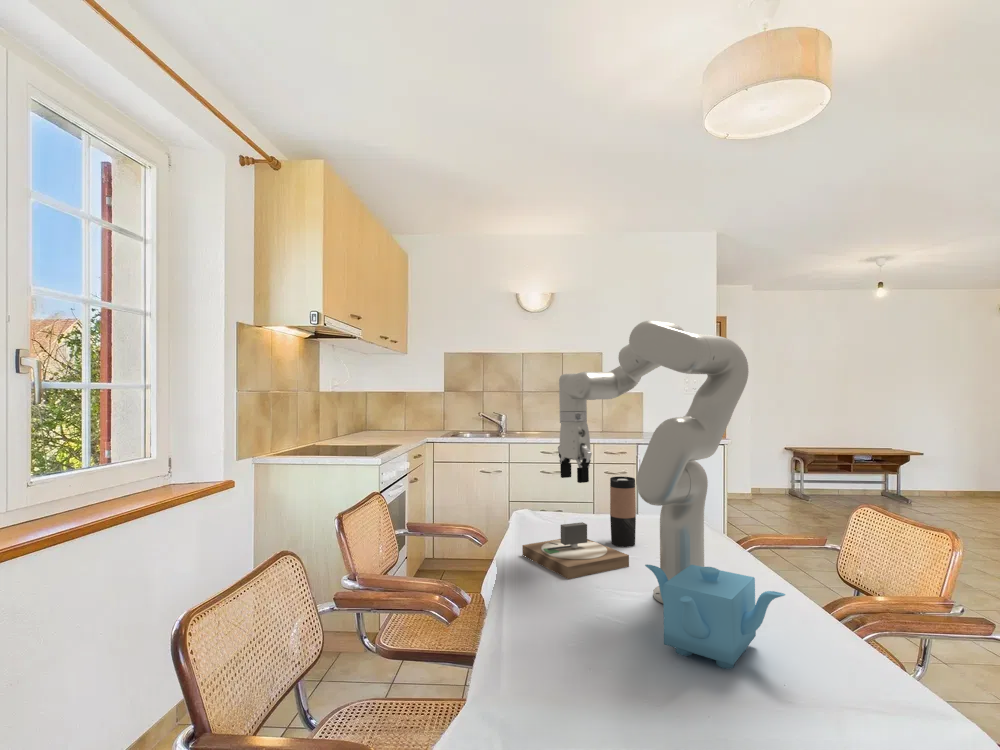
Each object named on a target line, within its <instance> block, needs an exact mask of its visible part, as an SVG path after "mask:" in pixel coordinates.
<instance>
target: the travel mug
mask: <svg viewBox="0 0 1000 750" xmlns="http://www.w3.org/2000/svg"><path fill="white" fill-rule="evenodd" d="M609 481H610V482H609V487H610V488H609V489H610V491H609V493H610V495H609V498H610V500H609V504H610V505H609V509H610V510H609V513H610V514H609V515H610V517H609V519H610V520H609V521H610V542H611V545H613V546H615V547H618V548H619V547H621V548H631V547H635V546H636V524H637V521H636V520H637V519H636V517H637V515H636V514H637V513H636V511H637V510H636V504H637V503H636V502H637V501H636V478H634V477H631V476H612V477H610V479H609Z"/></svg>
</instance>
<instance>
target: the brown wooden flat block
mask: <svg viewBox="0 0 1000 750" xmlns="http://www.w3.org/2000/svg"><path fill="white" fill-rule="evenodd" d="M561 546H569V545H564V544H562V543H561V538H558V539H557V538H556V539H552V540H547V541H540V542H539V541H538V542H534V543H527V544H523V545H522V556H523V555H524V556H526V557H527V558H526V557H525V558H526V559H528V558H529V560H530V559H531V560H530V561H532V560H533V561H532V562H534V563H536V564H538V565H540V566H542V567H543V568H546V569H548V570H549V571H552V572H553V573H555V574H557V575H559V576H561V577H563V578H565V579H566V580H571V579H575V578H581V577H585V576H591V575H595V574H599V573H604V572H608V571H614V570H619V569H623V568H629V567H630V555H629V554H627V553H624V552H622V551H619V550H616V549H614V548H612V547H609V546H606V545H604V544H601V543H599V542H595V541H593V540H591V539H588V538H587V543H579V544H578V547H577V548H571V547H570V548H562V549H554V550H548V548H553V547H561ZM524 556H523V557H524Z"/></svg>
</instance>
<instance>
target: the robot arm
mask: <svg viewBox="0 0 1000 750" xmlns="http://www.w3.org/2000/svg"><path fill="white" fill-rule="evenodd" d="M628 338H629V339H628V344H627V345H625V346H623V347H622V348H621V349H620V351H619V352H618V357H617V358H618V364H619V365H618V366H617V367H615V368H613V369H611V370H610V371H581V372H578V373H563V374H561V375H560V376H559V378H558V387H559V388H558V389H559V390H558V391H559V392H558V394H559V395H558V396H559V397H558V398H559V403H558V404H559V424H560V429H559V446H558V447H557V450H558V458H559V464H560V465H559V466H560V468H559V469H560V478H561V479H562V478H563V479H566V478H572V463H571V460H573V461H576V464H577V466H578V467H577V468H576V473H577V474H576V475H577V476H576V478H577V480H576V481H577V483H578V484H584V483H589V482H590V478H589V477H590V476H589V468H590V466H591V465H590V463H591V458H592V454H593V453H592V451H591V439H590V431H589V425H588V422H587V421H588V411H587V409H588V407H587V403H588V401H595V400H612V399H616V398H617V397H621V396H622V395H625V394H627V392H630V391H631V390H633V389H634V388H635V387H636V386H637V385H638V384H639V382H640V381H641V380H642V377H644V376H645V375H647V374H648V373H650V372H652V371H654V370H656V369H658V368H660V367H661V366H662V367H663V368H666V369H668V370H672V371H676V372H677V373H682V374H686V375H687V374H688V375H707V377H706V379H705V381H704V382H703V383H702V385H700V387H699V388H698V390H697V391H696V392H695V394H694V397H693V398H692V401H691V404H690V406H689V408H688V410H687V412H686V414H685V415H683V416H678V417H677V416H676V417H670V418H668V419H665V420H664V421H663V422H661V423H660V424H659V425H658V426H657V427H656V428H655V430H654V431H653V434H652V435H651V438H650V441H649V443H648V445H647V448H646V450H645V453H644V455H643V458H642V460H641V463H640V465H639V468H638V471H637V475H636V481H635V484H636V490H637V491H638V492H637V493H638V494H639V496H640V498H641V499H642V501H644V502H645V503H647V504H649V505H652V506H657V507H658V506H661V508H660V514H659V551H660V552H659V561H660V563H659V568H661V569H662V570H663V571H664V573H665V574H666V576H667V578H668V580H670V579H671V578H673V577H674V576H675V575H677V574H678V573H680V572H681V571H683V570H684V569H686V568H687V567H689V566H690V565H696V566H701V567H705V506H706V499H707V493H708V486H709V485H708V483H709V481H708V476H707V472H706V470H705V468H704V467H703V466H702V465H701V464H700V463H699V462H698V461H699V460H705V459H708V458H710V457H712V456H713V455H714V454H716V451H717V450H718V448H719V445H720V443H721V441H722V439H723V437H724V434H725V433H726V430H727V428H728V426H729V423H730V421H731V419H732V416H733V413H734V411H735V409H736V406H737V404H738V403H739V400H740V399H741V397H742V395H743V393H744V390H745V388H746V385H747V381H748V379H749V378H748V377H749V373H750V372H749V362H748V359H747V356H746V355H745V352H744V351H743V350H742V348H741V347H740V346H739V345H738V344H737V343H736V342H735V341H733V340H732V339H729V338H726V337H723V336H720V335H714V334H713V335H712V334H700V333H691V332H687V331H685V330H684V328H682V327H681V326H680V325H677V324H676V323H673V322H668V321H667V322H666V321H658V320H644V321H642V322H640V323H638V324H637V325H635V326H634V328H632V330H631V332H630V334H629V337H628ZM652 595H653V598H654V599H655V600H656V601H657V602H659V603H661V604H663V600H662V596H661V592H660V587H659V585H658V586H656V587H654V589H653V593H652Z"/></svg>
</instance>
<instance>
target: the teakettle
mask: <svg viewBox="0 0 1000 750" xmlns="http://www.w3.org/2000/svg"><path fill="white" fill-rule="evenodd" d="M644 566H645V567H646V568H647V569H649V570H650V571H651V572H652V573H653V574H654V576H655V578H656V579H657V583H658V586H659V587H660V592H661V596H662V600H663V603H662V605H663V607H662V608H663V644H664V645H665V646H668V647H672V648H674V649H675V653H677V655H681V656H685V657H686V656H692V655H693V654H694V655H698V656H702V657H704V658H707V659H711V660H714V661H715V664H716V665H717V666H718V667H720V668H722V669H729V670H731V669H733V668H735V664H736V662H737V661H738V660H739V659H740V657H741V656H742V655H743V653H745V652H747V648H748V647H749V645H750V644H751V643H752V642H753V640H754V639H755V638H756V635H757V631H758V629H759V628H760V627H761V626H762V624H763V622H764V619H765V616H766V613H767V610H768V608H769V605H770V604H771V602H772V601H773V600H776V599H777V598H781V597H785V596H786V593H783V592H779V591H775V590H766V591H763V592H762V593H761V594H760V595H759V596H758V598H757V599H756V579H755V578H756V577H754V576H750V575H745V574H740V573H735V572H730V571H726V570H720V569H719V568H717V567H712V566H704V567H701V566H696V565H690V566H689V567H687V568H686V569H684V570H683V571H681V572H680V573H678V574H677V575H675V576H674V577H673V578H671V579H670V580H668V578H667V576H666V574H665V573H664V571H663V570H662V569H661V568H660V566H657V565H653V564H645V565H644ZM756 600H757V601H756Z"/></svg>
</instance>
